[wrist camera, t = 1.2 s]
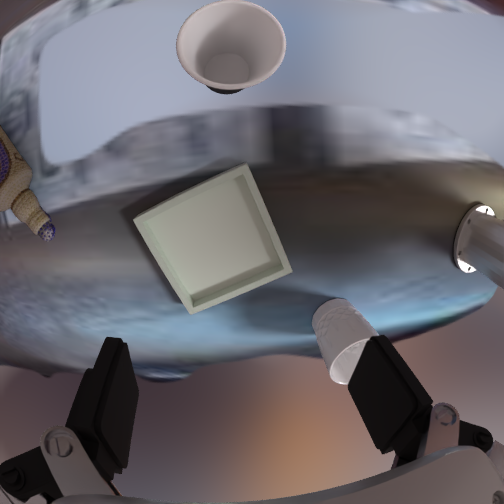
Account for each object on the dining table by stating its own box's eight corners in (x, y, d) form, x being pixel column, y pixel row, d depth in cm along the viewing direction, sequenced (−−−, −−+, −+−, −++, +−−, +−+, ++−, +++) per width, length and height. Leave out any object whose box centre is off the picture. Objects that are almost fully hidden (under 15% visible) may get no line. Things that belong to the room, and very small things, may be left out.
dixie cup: (177, 62, 24) (158, 27, 14) (242, 32, 24) (254, -14, 14) (211, 119, 28) (207, 108, 17) (276, 87, 27) (305, 64, 17)
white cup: (351, 334, 41) (377, 377, 32) (304, 340, 41) (324, 389, 31) (361, 291, 38) (395, 333, 29) (310, 296, 38) (336, 343, 28)
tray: (245, 162, 30) (247, 164, 28) (288, 264, 35) (292, 271, 33) (137, 214, 31) (132, 219, 29) (191, 305, 36) (190, 314, 34)
